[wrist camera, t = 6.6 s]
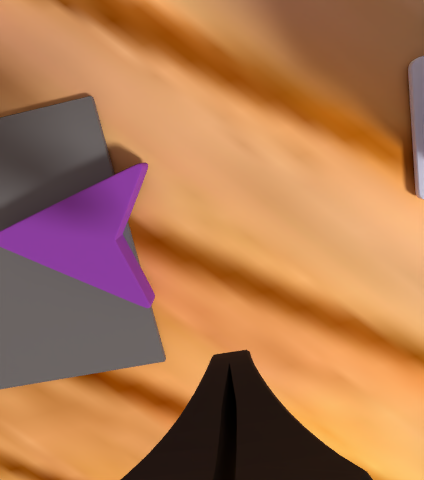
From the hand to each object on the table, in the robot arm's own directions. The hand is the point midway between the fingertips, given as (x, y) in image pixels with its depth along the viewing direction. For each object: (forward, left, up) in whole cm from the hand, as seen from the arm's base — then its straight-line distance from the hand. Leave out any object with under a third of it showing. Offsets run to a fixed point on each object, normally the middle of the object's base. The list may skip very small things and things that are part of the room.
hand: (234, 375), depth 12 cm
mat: (+13, -4, -10) cm, 17 cm away
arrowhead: (+4, -4, -9) cm, 11 cm away
